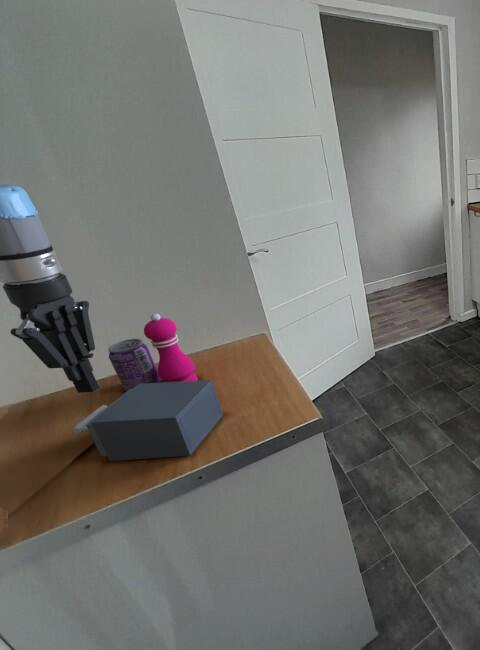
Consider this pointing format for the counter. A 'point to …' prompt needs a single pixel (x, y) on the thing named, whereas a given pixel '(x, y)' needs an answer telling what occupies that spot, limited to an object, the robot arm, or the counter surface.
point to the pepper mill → (169, 351)
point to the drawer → (88, 425)
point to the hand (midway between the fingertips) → (88, 390)
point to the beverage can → (133, 363)
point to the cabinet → (159, 420)
